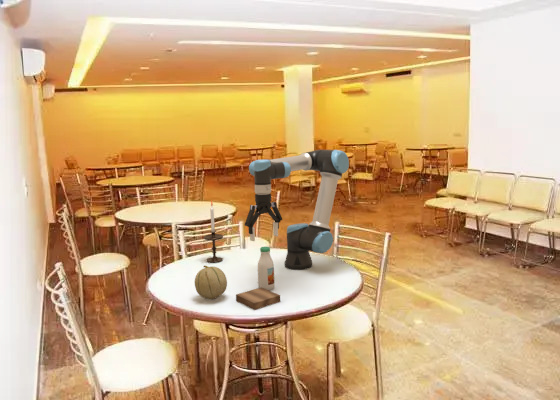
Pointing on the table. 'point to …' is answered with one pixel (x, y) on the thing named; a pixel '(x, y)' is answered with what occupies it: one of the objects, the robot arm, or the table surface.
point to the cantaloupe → (210, 282)
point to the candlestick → (213, 239)
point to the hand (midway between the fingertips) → (264, 238)
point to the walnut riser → (258, 298)
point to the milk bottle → (265, 269)
